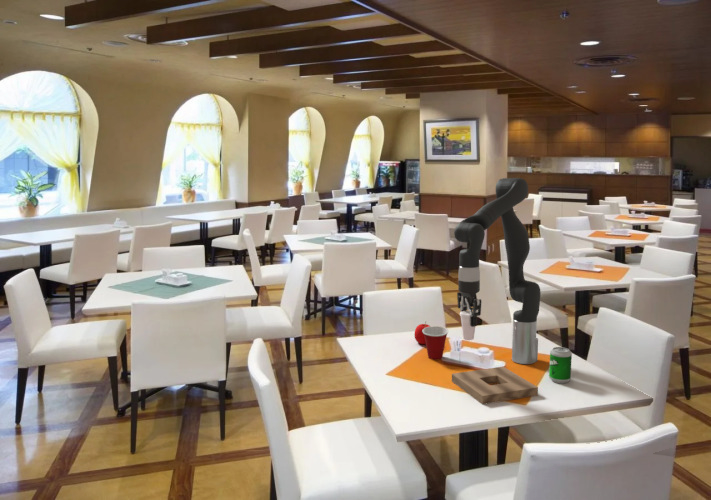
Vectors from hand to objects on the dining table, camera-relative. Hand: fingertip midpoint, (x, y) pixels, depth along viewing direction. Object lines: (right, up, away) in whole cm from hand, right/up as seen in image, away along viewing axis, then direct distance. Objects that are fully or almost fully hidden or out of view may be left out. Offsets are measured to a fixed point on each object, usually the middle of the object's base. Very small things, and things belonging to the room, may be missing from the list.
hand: (468, 323), depth 215 cm
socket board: (+9, -23, 0) cm, 25 cm away
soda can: (+35, -22, +6) cm, 42 cm away
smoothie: (0, -6, +1) cm, 6 cm away
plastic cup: (-8, -18, +33) cm, 38 cm away
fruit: (-10, -15, +52) cm, 55 cm away
